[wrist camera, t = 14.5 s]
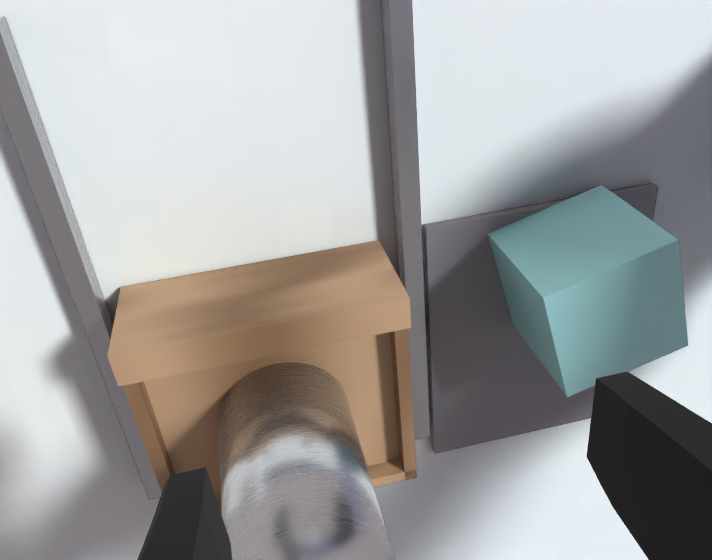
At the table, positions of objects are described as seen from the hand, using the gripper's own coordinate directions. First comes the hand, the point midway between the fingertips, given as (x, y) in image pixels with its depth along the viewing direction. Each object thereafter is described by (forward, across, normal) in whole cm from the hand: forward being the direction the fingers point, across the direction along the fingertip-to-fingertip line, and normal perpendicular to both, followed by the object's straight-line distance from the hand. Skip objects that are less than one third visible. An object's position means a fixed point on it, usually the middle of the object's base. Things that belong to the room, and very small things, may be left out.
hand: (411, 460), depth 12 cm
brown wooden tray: (+10, +2, +5) cm, 11 cm away
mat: (+10, -7, +6) cm, 13 cm away
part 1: (+7, +2, +5) cm, 9 cm away
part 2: (+10, -8, +3) cm, 12 cm away
